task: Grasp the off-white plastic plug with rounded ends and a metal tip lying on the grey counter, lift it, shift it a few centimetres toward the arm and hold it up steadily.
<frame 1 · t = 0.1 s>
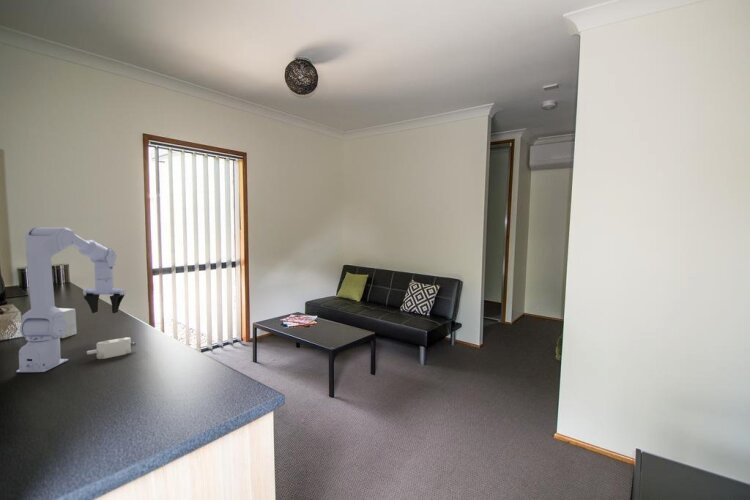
hand: (105, 312, 137), 10 cm above the kitchen counter, tool pointing down, fingers open, 7 cm apart
small box: (61, 336, 139), on the kitchen counter
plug: (114, 354, 121), on the kitchen counter
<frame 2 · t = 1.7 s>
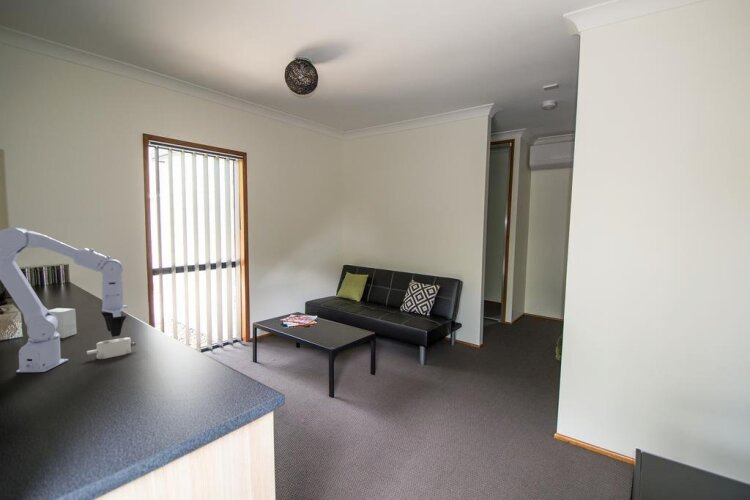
hand: (113, 333, 120), 8 cm above the kitchen counter, tool pointing down, fingers open, 7 cm apart
nothing on the kitchen counter moved.
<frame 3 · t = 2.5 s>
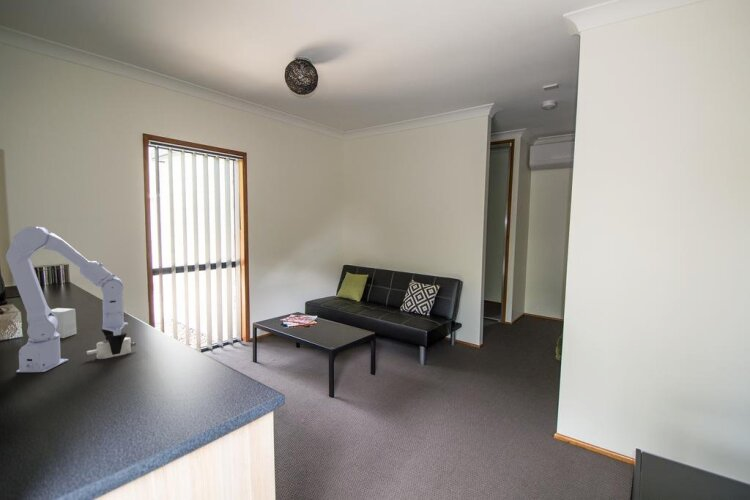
hand: (114, 350, 121), 1 cm above the kitchen counter, tool pointing down, fingers open, 7 cm apart
nothing on the kitchen counter moved.
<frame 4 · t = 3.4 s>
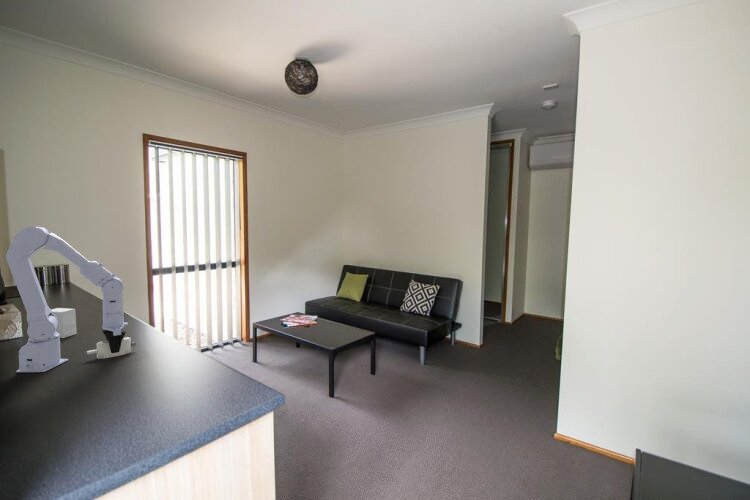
hand: (114, 350, 121), 1 cm above the kitchen counter, tool pointing down, fingers closed on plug, 3 cm apart
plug: (114, 354, 121), on the kitchen counter, touching gripper
everything else where it was.
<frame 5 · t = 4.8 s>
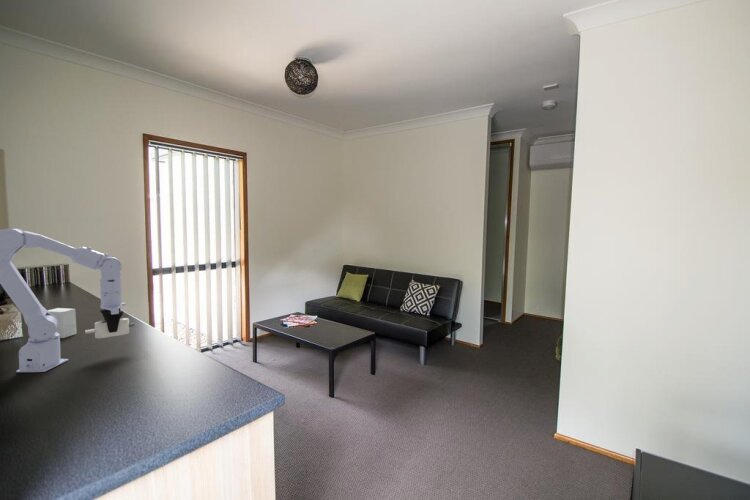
hand: (112, 330, 121), 8 cm above the kitchen counter, tool pointing down, fingers closed on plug, 3 cm apart
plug: (112, 335, 121), point 7 cm above the kitchen counter, touching gripper
everything else where it was.
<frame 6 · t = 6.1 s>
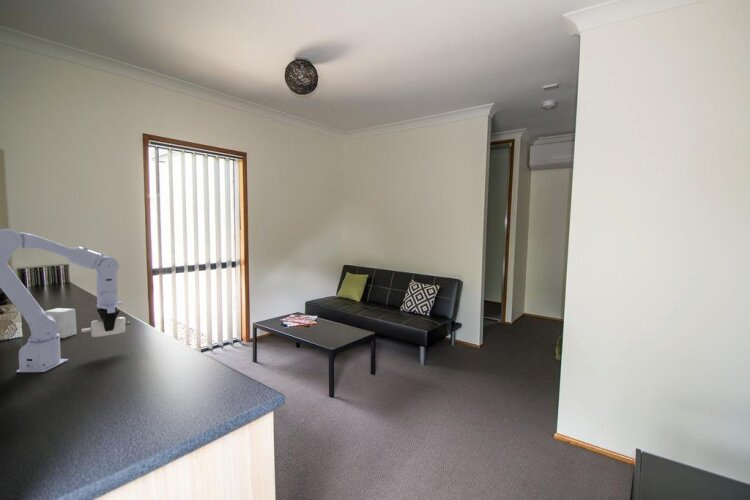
hand: (108, 329, 122), 8 cm above the kitchen counter, tool pointing down, fingers closed on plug, 3 cm apart
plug: (108, 333, 122), point 7 cm above the kitchen counter, touching gripper
everything else where it was.
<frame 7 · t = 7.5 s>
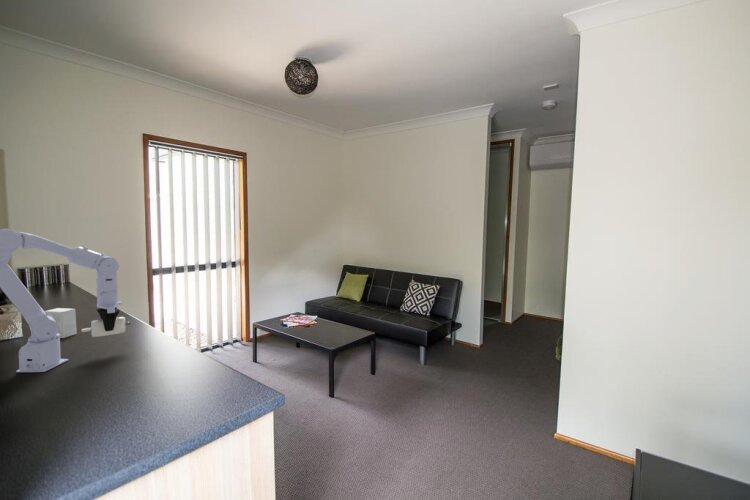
hand: (108, 329, 122), 8 cm above the kitchen counter, tool pointing down, fingers closed on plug, 3 cm apart
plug: (108, 333, 122), point 7 cm above the kitchen counter, touching gripper
everything else where it was.
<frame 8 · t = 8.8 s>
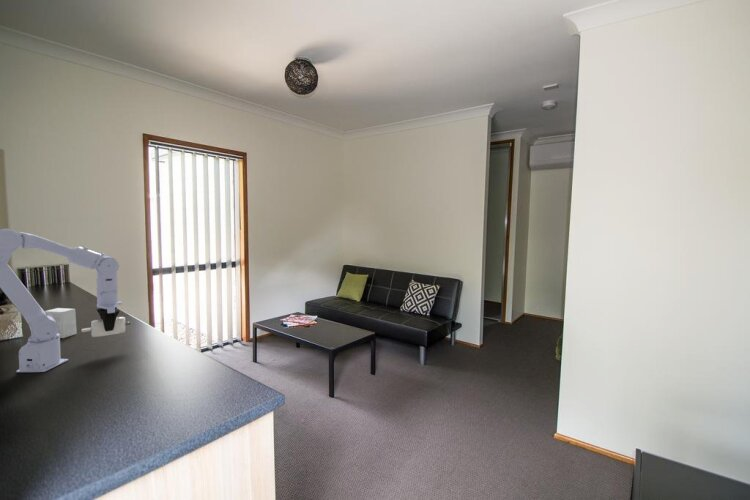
hand: (108, 329, 122), 8 cm above the kitchen counter, tool pointing down, fingers closed on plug, 3 cm apart
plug: (108, 333, 122), point 7 cm above the kitchen counter, touching gripper
everything else where it was.
at the end: the gripper is holding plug; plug point 6.8 cm above the kitchen counter; small box moved 0.3 cm from its start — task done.
